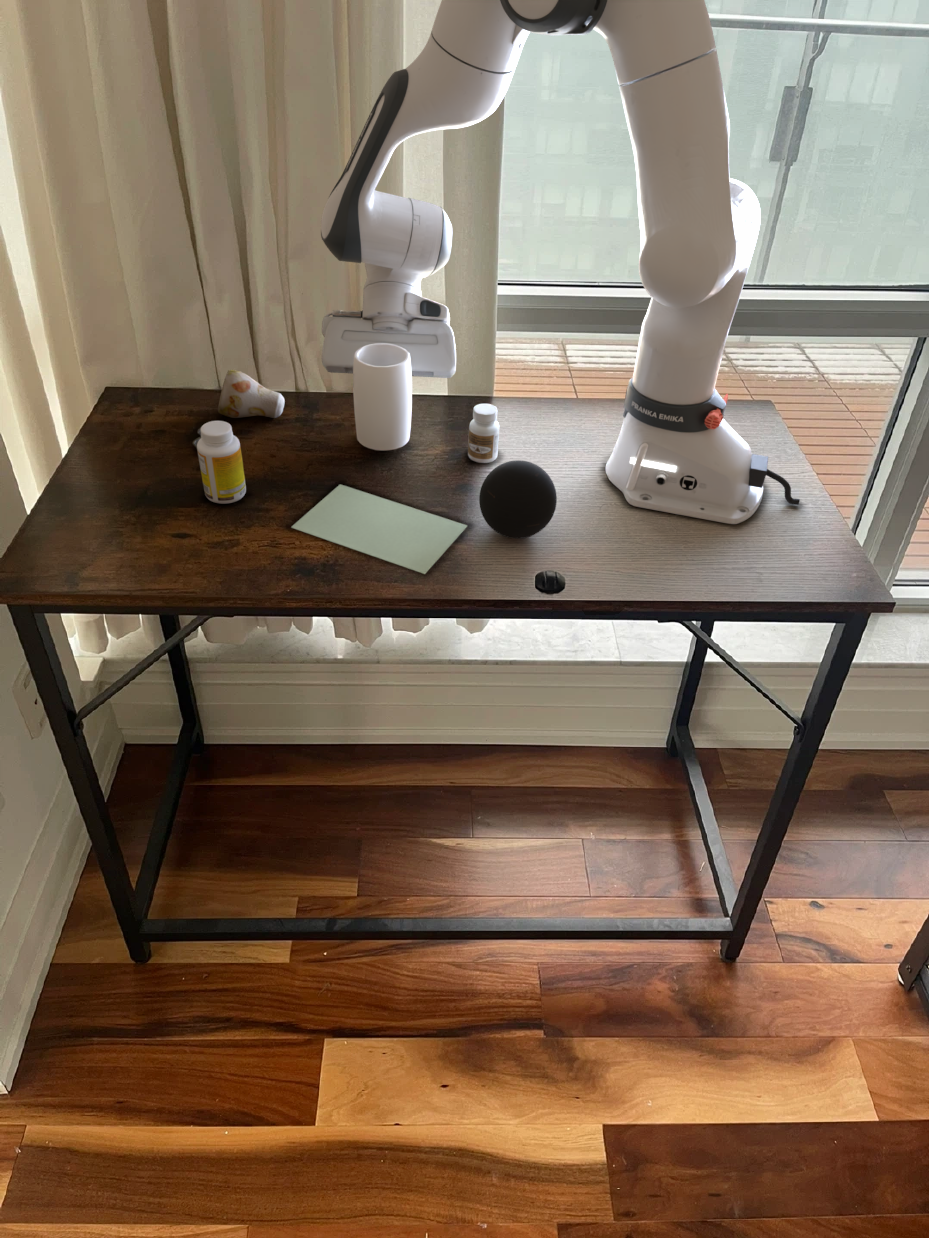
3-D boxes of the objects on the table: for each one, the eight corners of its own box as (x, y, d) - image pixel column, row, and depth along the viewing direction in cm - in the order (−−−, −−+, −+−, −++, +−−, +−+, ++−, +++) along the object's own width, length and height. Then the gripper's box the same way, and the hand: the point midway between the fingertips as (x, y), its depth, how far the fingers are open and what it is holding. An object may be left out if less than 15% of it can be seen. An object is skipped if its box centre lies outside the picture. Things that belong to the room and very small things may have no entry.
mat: (467, 526, 125) (467, 525, 124) (424, 574, 116) (424, 573, 116) (340, 485, 131) (340, 484, 131) (290, 528, 123) (290, 527, 122)
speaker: (466, 542, 121) (470, 477, 115) (491, 503, 129) (495, 439, 122) (540, 561, 119) (548, 495, 113) (561, 519, 126) (569, 455, 120)
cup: (403, 462, 136) (403, 372, 126) (347, 454, 137) (343, 364, 128) (418, 434, 142) (419, 346, 133) (364, 426, 143) (362, 338, 134)
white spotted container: (288, 429, 142) (248, 381, 135) (237, 445, 146) (196, 400, 139) (297, 395, 146) (259, 347, 139) (247, 412, 150) (208, 366, 143)
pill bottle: (463, 460, 137) (466, 413, 132) (473, 446, 140) (475, 399, 135) (492, 466, 136) (495, 419, 131) (500, 452, 139) (504, 405, 134)
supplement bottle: (254, 489, 129) (246, 423, 122) (232, 509, 125) (222, 442, 118) (219, 479, 130) (210, 413, 124) (196, 499, 126) (185, 432, 120)
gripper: (320, 301, 138) (315, 393, 137) (458, 307, 138) (454, 399, 137) (325, 317, 144) (320, 405, 143) (457, 324, 144) (454, 411, 144)
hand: (387, 402), depth 140 cm, fingers closed, pressing on cup
